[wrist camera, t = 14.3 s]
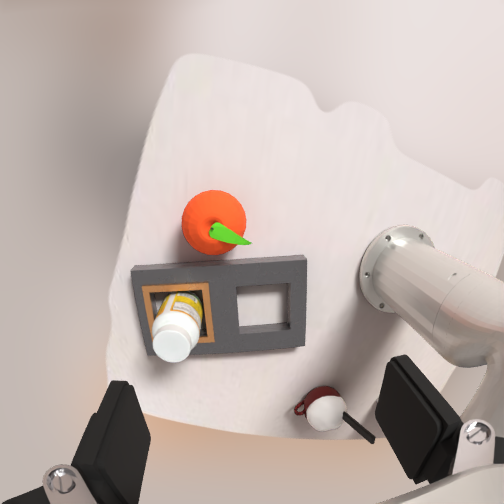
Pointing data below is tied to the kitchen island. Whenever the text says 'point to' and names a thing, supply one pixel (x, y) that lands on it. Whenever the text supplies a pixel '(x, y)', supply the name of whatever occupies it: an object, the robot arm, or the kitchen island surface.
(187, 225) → the clementine
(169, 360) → the supplement bottle
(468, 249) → the kitchen island surface
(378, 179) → the kitchen island surface
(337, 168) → the kitchen island surface
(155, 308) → the two-pocket grey tray
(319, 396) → the cocoa
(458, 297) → the robot arm
